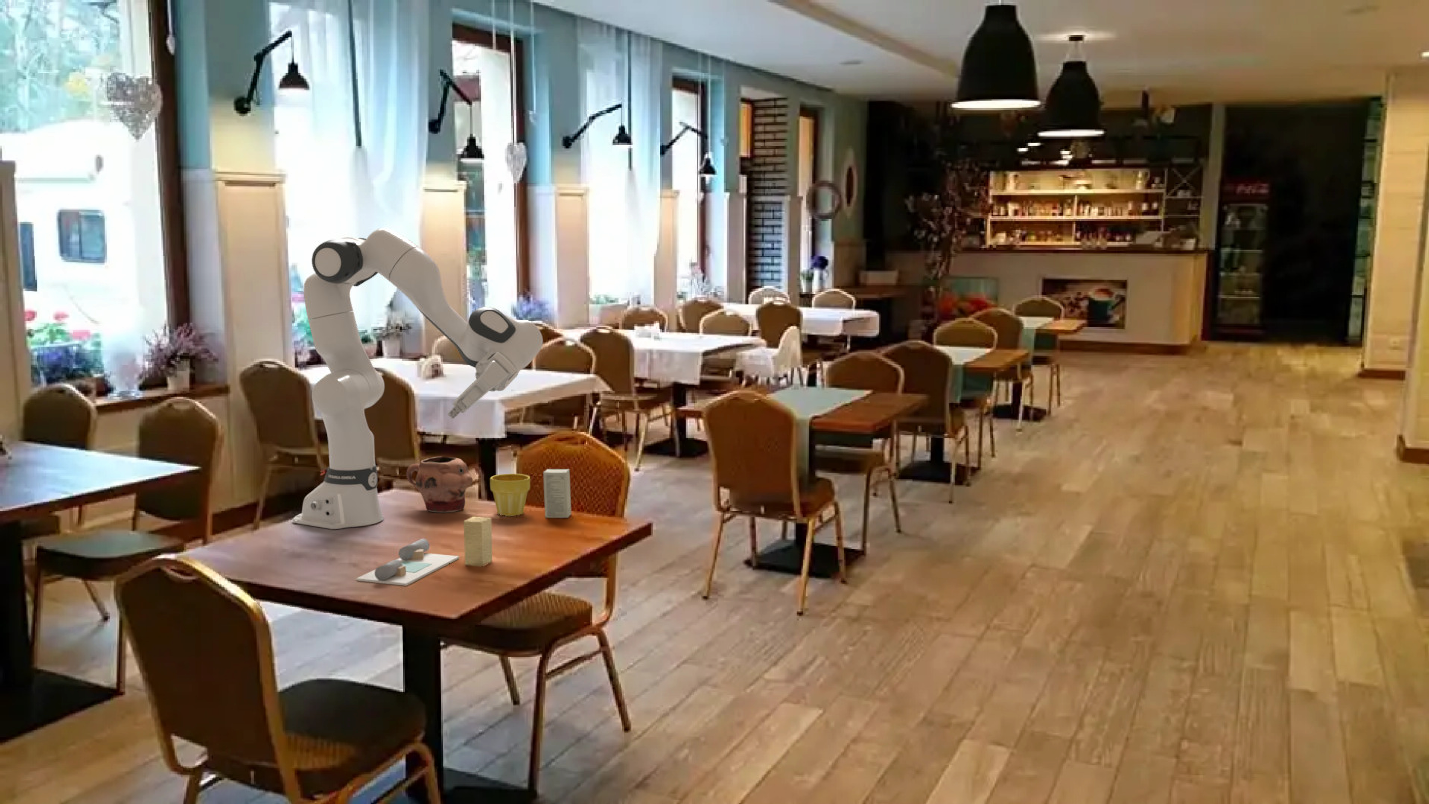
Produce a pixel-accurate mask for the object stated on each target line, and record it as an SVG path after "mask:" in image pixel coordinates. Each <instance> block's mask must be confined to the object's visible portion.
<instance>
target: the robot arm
mask: <svg viewBox="0 0 1429 804" xmlns="http://www.w3.org/2000/svg"><path fill="white" fill-rule="evenodd" d="M311 266H312V269H313V271H314V273H313V274H311V275H310V276H309V277H307V278H306V280H305V281H304V285H303V295H304V304H305V310H306V315H307V316H306V317H307V320H308V325H309V327H310V328H309V329H310V333H311V336H312V339H313V340H312V341H313V345H314V348H315V350H316V352H317V354H318V355H319V356H320V357H322V359H323V360H324V362H325V364H326V366H327V368H328V370H329V371H330V373H328V374H326V375H325V376H323V377H322V378H321V379H319V380H318V381H317V382H316V383H315V385H314V387H313V388H312V392H311V399H312V400H311V401H312V404H313V405H314V407H315V409H316V410H317V411H318V412H319V413H320V415H321V417H322V420H323V423H324V427H325V430H326V434H327V442H328V458H329V460H328V461H329V466H328V467H327V468H325V469H323V470H320V471H319V472H320V476H323V475H324V479H323V482H321V483H320V484H319V485H318V486H317V487H316V488H314V489H313V490H312V491H311V492H309V493H308V494H307V495H306V496H305V497H304V498H303V502H302V508H301V509H302V510H301V513H299V514H297V515H295V516H293V519H292V520H293V521H292V522H293V523H294V524H299V525H305V526H311V527H319V528H323V529H331V530H338V529H345V528H355V527H363V526H364V527H365V526H369V525H373V524H376V523H377V524H378V523H379V522H382V521H383V520H384V519H385V518H384V516H383V512H382V509H381V505H380V500H379V495H378V494H379V493H378V488H377V487H378V467H377V465H376V459H375V458H376V455H375V435H374V434H373V432H372V431H371V430H370V428H369V425H368V422H367V418H366V414H365V410H366V409H368V408H371V407H372V406H373V405H375V404H376V403H377V402H378V401H379V400H380V399H381V398H382V397H383V395H384V392H385V381H384V378H383V377H382V375H381V374H380V372H379V371H377V370H376V369H375V368H374V365H373V363H372V361H371V360H370V358H369V355H368V353H367V352H366V350H365V348H364V345H363V342H362V340H361V337H360V332H359V328H358V324H357V320H356V316H355V313H354V308H353V304H352V301H351V289H352V288H353V287H359V286H361V285H362V284H364V283H365V282H367V281H369V280H371V279H372V278H374V277H375V276H377V274H380V275H381V276H382V277H384V279H386V280H387V281H389V282H390V283H391V284H392V285H393V286H395V287H396V289H398V290H399V292H401V293H402V294H404V295H405V296H406V298H408V300H409V301H411V303H412V304H413V305H414V306H415V307H416V308H417V310H418V311H419V312H420V313H421V314H422V315H423V317H425V318H426V320H427V321H429V322H430V323H431V325H433V326H434V327H435V328H436V329H437V330H438V331H439V332H440V333H441V334H442V335H443V336H445V338H447V340H449V342H451V344H453V345H454V346H455V348H456V349H457V351H458V353H459V355H460V356H461V358H462V360H463V361H464V363H466V364H467V365H469V366H470V367H472V368H475V376H474V377H475V378H476V379H475V380H474V381H473V382H472V383H471V384H470V385H468V387H467V388H466V389H464V391H463V392H462V393H461V394H460V395H459V396H458V397H457V398H456V399H455V400H454V401H453V402H452V405H453V407H452V408H451V410H450V411H448V413H447V415H448V416H449V418H450V419H452V420H454V419H455V418H456V417H457V416H458V415H459V414H460V413H461V414H464V413H466V412H467V411H468V410H469V409H471V407H473V406H474V405H475V404H476V403H477V402H478V401H479V400H480V399H482V398H483V397H484V396H485V395H486V394H487V393H488V392H497V391H498V392H501V391H504V390H505V389H506V388H507V387H508V386H509V385H510V384H512V382H513V381H514V380H515V378H517V376H518V375H519V373H520V372H521V370H522V369H523V370H524V369H525V368H526V367H527V366H528V365H529V364H530V363H531V362H532V361H533V360H534V359H535V357H536V356H538V354H539V353H540V351H541V349H542V348H543V344H544V341H543V340H544V339H543V335H542V333H541V330H540V329H539V328H538V326H537V325H536V324H535V323H533V322H532V321H529V320H527V319H524V320H523V319H522V320H521V319H516V318H513V317H511V316H508V315H505V314H504V313H503V312H502V311H500V310H499V309H497V308H495V307H491V306H482V307H479V308H477V309H475V310H473V311H472V312H471V314H470V315H469V318H468V321H466V320H465V319H464V318H463V317H462V316H461V315H460V314H459V313H458V312H457V311H456V310H455V309H454V308H453V307H452V306H451V305H450V304H449V302H448V301H447V298H446V296H445V293H444V289H443V283H442V277H441V272H440V269H439V266H438V265H437V263H436V262H435V260H434V259H432V257H431V256H430V255H429V254H428V253H427V252H426V251H425V250H423V249H422V248H421V247H419V246H418V245H417V244H415V243H414V242H413V241H411V240H410V239H408V238H407V237H405V236H404V235H401V234H400V233H399V232H397V231H394V230H392V229H390V228H387V227H382V228H381V227H380V228H378V229H375V230H374V231H372V232H371V233H370V234H368V236H367V238H364V237H341V238H339V239H328V240H327V241H324V242H322V243H320V244H319V245H318V246H317V247H316V248H315V249H314V251H313V253H312V255H311ZM295 520H297V521H295Z"/></svg>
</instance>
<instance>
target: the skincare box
mask: <svg viewBox="0 0 1429 804" xmlns="http://www.w3.org/2000/svg"><path fill="white" fill-rule="evenodd" d="M570 473H571V472H570V469H569V468H567V469H566V468H561V469H560V468H555V469H554V468H547V469H546V470H544V471H543V472H542V475H543V495H544V497H543V498H544V499H543V500H544V517H545V518H551V519H553V518H555V519H556V518H557V519H558V518H559V519H564V518H565V519H567V518H569V517H570V516H571V515H572V502H571V501H572V500H571V478H570V477H571V476H570V475H571V474H570Z"/></svg>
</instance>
